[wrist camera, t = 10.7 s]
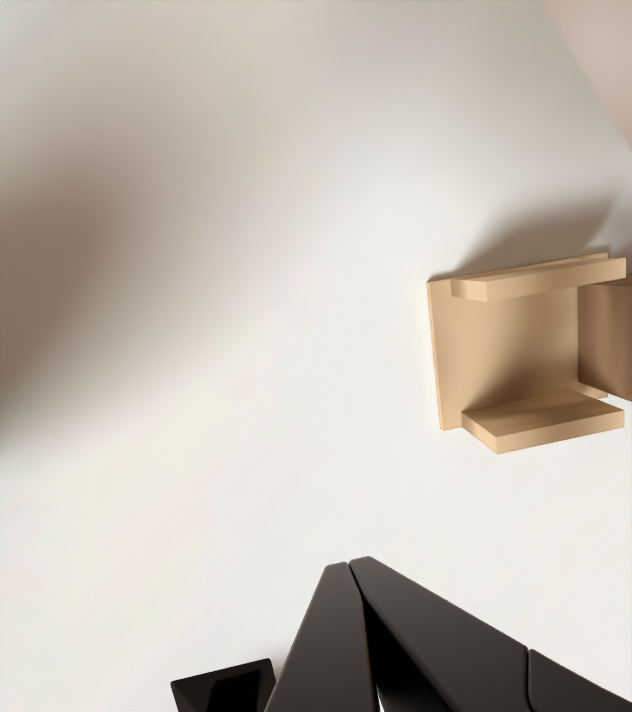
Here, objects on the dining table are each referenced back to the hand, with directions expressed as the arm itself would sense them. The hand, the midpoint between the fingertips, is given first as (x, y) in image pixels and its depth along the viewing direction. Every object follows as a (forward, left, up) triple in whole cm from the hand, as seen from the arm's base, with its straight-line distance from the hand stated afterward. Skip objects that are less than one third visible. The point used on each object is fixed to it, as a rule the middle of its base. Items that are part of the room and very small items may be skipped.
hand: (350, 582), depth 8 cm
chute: (+11, +4, -13) cm, 17 cm away
